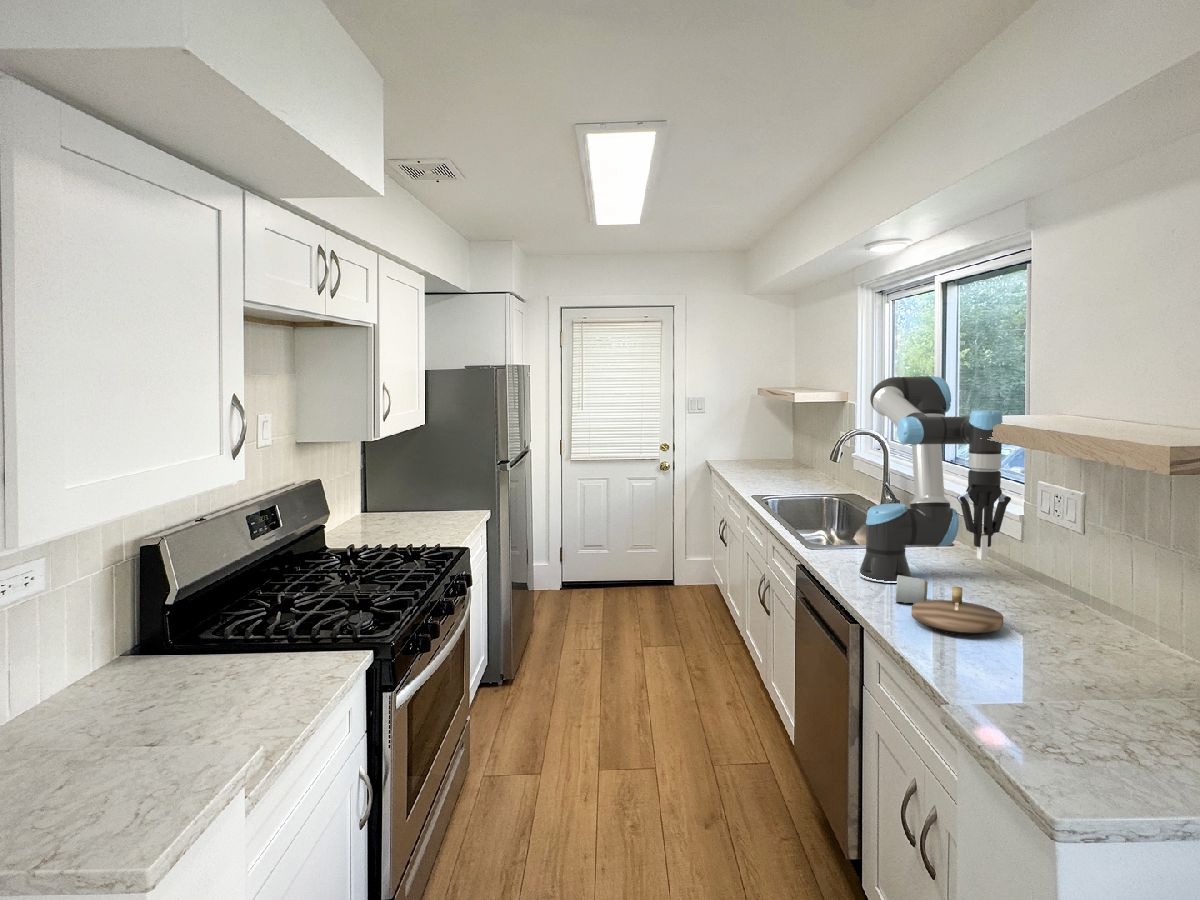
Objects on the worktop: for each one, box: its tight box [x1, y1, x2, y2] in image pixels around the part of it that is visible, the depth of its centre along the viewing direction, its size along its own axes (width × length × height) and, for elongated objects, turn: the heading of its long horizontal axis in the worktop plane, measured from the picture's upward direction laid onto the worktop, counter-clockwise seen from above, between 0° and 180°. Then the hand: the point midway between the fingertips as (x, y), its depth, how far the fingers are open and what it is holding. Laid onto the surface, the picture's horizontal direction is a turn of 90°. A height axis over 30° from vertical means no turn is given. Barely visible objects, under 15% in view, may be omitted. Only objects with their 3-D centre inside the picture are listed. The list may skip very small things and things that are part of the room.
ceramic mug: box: [894, 575, 929, 605], centre depth 209 cm, size 11×8×8 cm
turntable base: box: [928, 626, 986, 636], centre depth 188 cm, size 14×14×2 cm
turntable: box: [911, 586, 1004, 634], centre depth 188 cm, size 21×21×6 cm
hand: (981, 558), depth 195 cm, fingers closed
